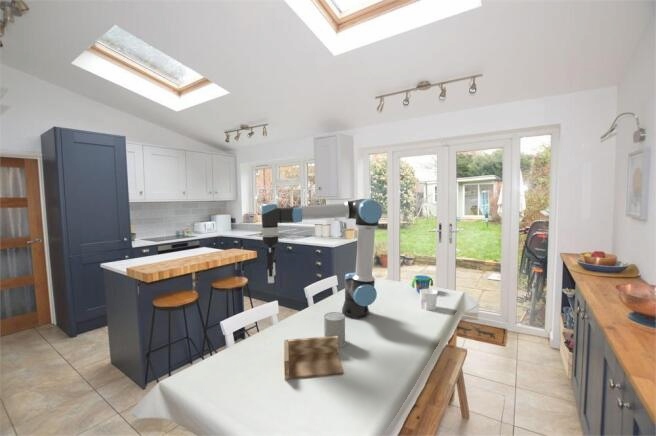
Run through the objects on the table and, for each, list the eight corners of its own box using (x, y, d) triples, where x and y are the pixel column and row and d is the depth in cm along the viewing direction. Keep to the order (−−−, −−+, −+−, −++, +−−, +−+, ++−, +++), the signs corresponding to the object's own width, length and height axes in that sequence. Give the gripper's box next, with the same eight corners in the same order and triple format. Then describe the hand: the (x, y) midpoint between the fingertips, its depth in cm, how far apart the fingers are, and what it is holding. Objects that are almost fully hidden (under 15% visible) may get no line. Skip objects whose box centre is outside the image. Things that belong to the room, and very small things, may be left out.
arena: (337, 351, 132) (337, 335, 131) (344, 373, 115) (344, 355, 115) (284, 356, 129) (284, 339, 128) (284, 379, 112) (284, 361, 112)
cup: (440, 308, 180) (441, 291, 179) (429, 312, 174) (430, 295, 173) (426, 303, 188) (426, 287, 187) (415, 307, 182) (415, 290, 182)
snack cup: (428, 288, 218) (428, 274, 217) (437, 293, 207) (437, 278, 207) (408, 290, 214) (408, 275, 214) (415, 295, 204) (415, 280, 203)
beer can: (330, 349, 134) (330, 322, 133) (320, 340, 142) (320, 314, 141) (349, 344, 138) (349, 317, 137) (338, 335, 147) (338, 310, 146)
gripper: (264, 233, 161) (266, 272, 162) (260, 239, 136) (261, 286, 138) (279, 232, 162) (280, 272, 163) (277, 239, 137) (278, 285, 139)
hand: (271, 279), depth 151 cm, fingers open, 13 cm apart
